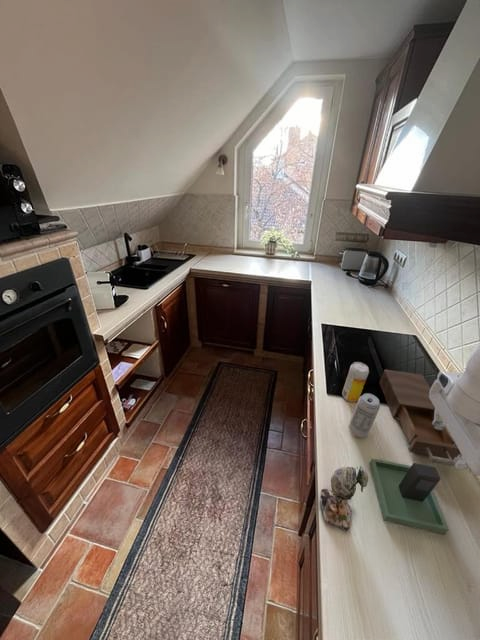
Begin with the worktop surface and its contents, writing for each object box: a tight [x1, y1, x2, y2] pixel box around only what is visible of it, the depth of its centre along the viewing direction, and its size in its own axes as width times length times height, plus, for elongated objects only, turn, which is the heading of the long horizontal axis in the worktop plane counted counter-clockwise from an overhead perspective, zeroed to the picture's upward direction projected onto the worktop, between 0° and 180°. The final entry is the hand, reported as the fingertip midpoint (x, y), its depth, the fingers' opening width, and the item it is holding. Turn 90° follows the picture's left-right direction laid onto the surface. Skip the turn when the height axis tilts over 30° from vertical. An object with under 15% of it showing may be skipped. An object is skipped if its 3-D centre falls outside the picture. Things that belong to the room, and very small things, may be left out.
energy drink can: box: [348, 392, 381, 438], centre depth 80 cm, size 6×6×15 cm
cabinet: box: [378, 369, 435, 420], centre depth 93 cm, size 18×14×7 cm
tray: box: [369, 458, 449, 535], centre depth 67 cm, size 14×15×2 cm
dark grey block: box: [399, 462, 442, 502], centre depth 65 cm, size 5×3×11 cm, turn 79°
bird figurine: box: [319, 465, 369, 532], centre depth 60 cm, size 8×11×20 cm
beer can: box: [341, 361, 370, 403], centre depth 93 cm, size 6×6×15 cm
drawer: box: [397, 406, 461, 467], centre depth 80 cm, size 21×12×5 cm, turn 169°
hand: (446, 445), depth 56 cm, fingers open, 8 cm apart
